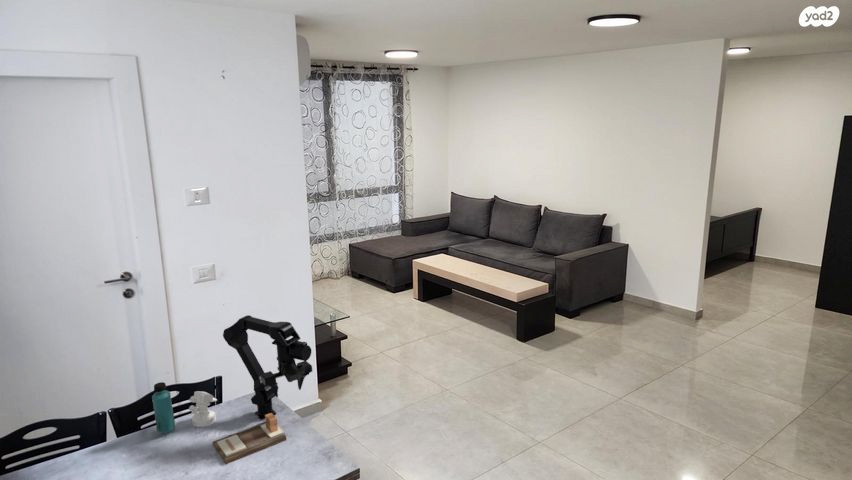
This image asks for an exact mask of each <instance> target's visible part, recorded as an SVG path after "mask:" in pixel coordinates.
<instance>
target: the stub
mask: <svg viewBox="0 0 852 480" xmlns="http://www.w3.org/2000/svg"><path fill="white" fill-rule="evenodd" d="M277 418H278V417H276V416H275V415H273V414H272V413H269V414H267V415H265V419H264V422H266V423H265V424H263V425H260V427H261V428H262V429H263V430H264V431H265V433H266V434H267V435H268V436H269V437H270V438H272V437H274V436H277V435H279V434H282V433H285V432H284V431H283V429H281V427H279V425H278V419H277Z"/></svg>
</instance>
